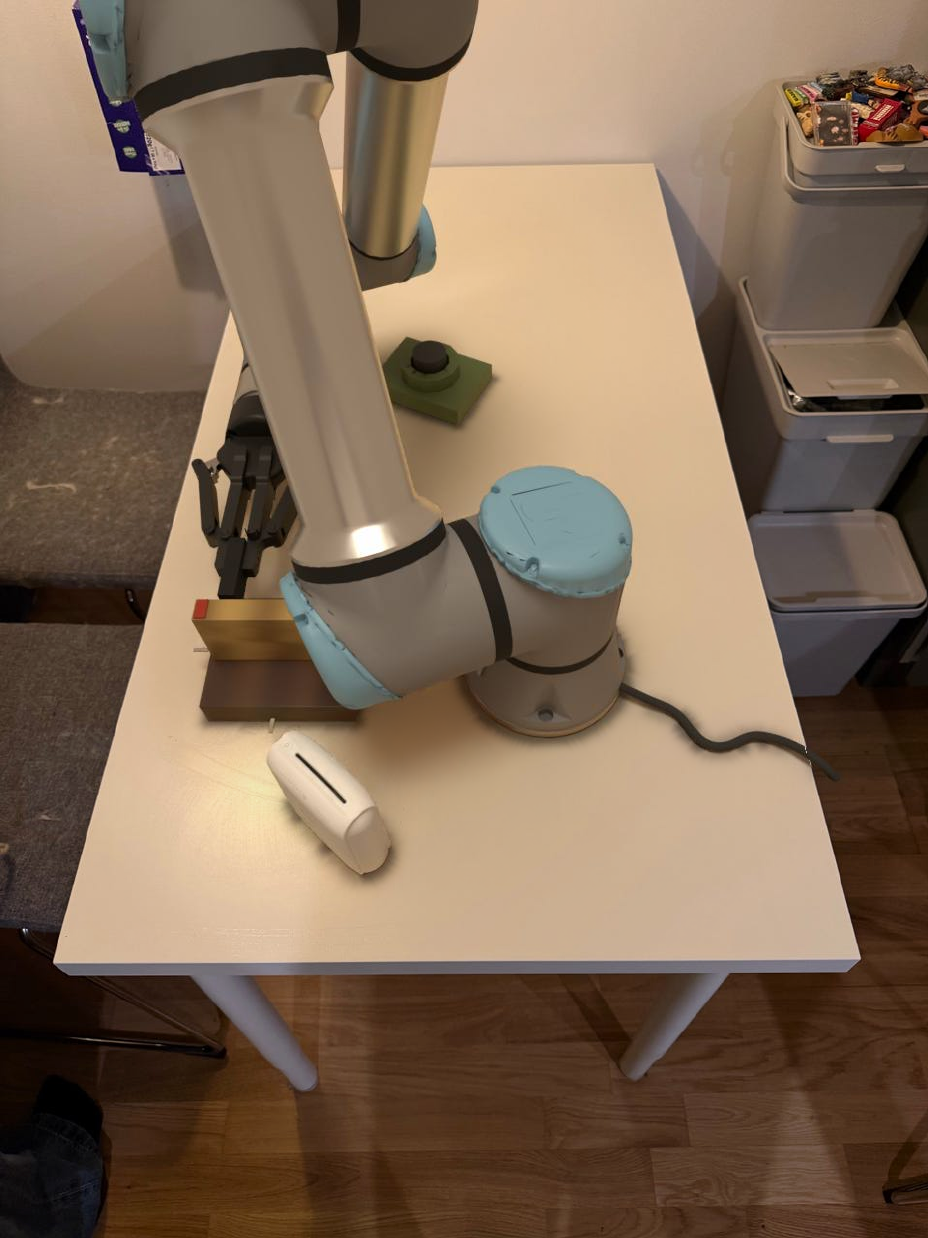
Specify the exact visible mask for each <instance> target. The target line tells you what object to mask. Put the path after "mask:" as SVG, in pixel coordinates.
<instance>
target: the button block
mask: <svg viewBox="0 0 928 1238" xmlns="http://www.w3.org/2000/svg"><path fill="white" fill-rule="evenodd" d="M436 341H437V340H436ZM420 342H423V341H421V340H419V339H416V338H413V337H410V336H405V337H404V338H403V340H402V341H401V342H400V343H399V345H398V346H396V348H395V349H394V350H393V352H392V353H391V354H390V355H389V356H388V358H387V359H386V360H385V361H384V363H383V364H381V366H382V370H383V373H384V377H385V381H386V385H387V388H388V392H389V396H390V400H391V403H394V404H397V405H399V406H402V407H405V408H408V409H411V410H414V411H417V412H420V413H422V414H424V415H428V416H431V417H434V418H436V419H439V420H441V421H445V422H447V423H451V424H454V425H456V426H460V424H461V422H462V420H463V419H464V418H465V416H466V415H467V413H468V412H469V411H470V410H471V408H472V407H473V405H474V404H475V403H476V401H477V400H478V398H479V397H480V395H481V394H482V393H483V391H484V390H485V389H486V387H487V386H488V385H489V383H490V382H491V380H492V379H493V364H492V363H489V362H485V361H483V360H480V359H477V358H474V357H472V356H471V357H470V356H467V355H466V354H465V355H464V354H461V353H458V352H457V351H456V350H455V348H453V346H451V345H450V344H447V343H444V342H441V341H437V342H440V343H441V344H443V345H444V346H445V348H446V355H447V365H446V367H445V368H444V369H443V370H442V371H440V372H438V373H436V374H424V373H421V372H418V371H417V370H416V369H415V368H414V365H413V356H412V351H413V348H414V347H415V346H416V345H417V344H418V343H420Z"/></svg>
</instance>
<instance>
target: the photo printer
mask: <svg viewBox="0 0 928 1238" xmlns="http://www.w3.org/2000/svg"><path fill="white" fill-rule="evenodd" d="M266 765H267V767H268V768H269V770H270V772H271V774H272V776H273V777H274V779H275V781H276V782H277V784H278V785H279V787H280V789H281V791H282V792H283V794H284V796H285V797H286V799H287V800H288V803H289V804H290V806H291V807H292V809H293V810H294V811H295V813H296V814H297V815H298V817H299V818H300V819H301V820H302V821H303V822H304V823H305V824H306V826H307V827H309V829H310V830H311V831H312V833H314V834H315V835H316V837H318V838H319V839H320V840H321V841H322V842H323V844H324V845H326V846H327V848H329V849H330V850H331V851H332V852H333V853H334V854H335V855H336V856H337V857H338V858H339V859H340V860H341V861H343V862H344V863H345V864H346V866H348V868H350V869H352V870H353V871H354V872H356V873H357V874H359V875H361V876H362V875H364V874H365V873H366V874H367V873H371V872H374V871H376V870H378V869H379V868H380V867H381V866H382V865H383V864H384V863H385V861H386V859H387V857H388V854H389V849H390V848H392V843H391V840H390V837H389V835H388V832H387V829H386V825H385V824H384V821H383V818H382V815H381V812H380V810H379V807H378V805H377V802H375V800H374V798H373V796H372V795H371V794H370V792H369V791H368V790H367V789H366V787H364V785H363V784H362V783H361V782H360V781H359V780H358V779H357V778H356V776H355V775H353V773H351V771H350V770H349V769H348V768H347V767H346V766H345V765H343V763H342V762H340V760H338V759H337V758H336V756H334V755H333V754H332V753H331V752H330V751H328V750H327V749H326V748H325V747H324V746H323V745H321V743H319V742H318V741H317V740H316V739H313V738H312V737H311V736H310V735H308V734H305V733H304V732H301V731H299V730H289V731H286V732H285V733H283V734H282V735H281V737H280V738H279V739H278V740H275V742H273V744H271V746H270V748H269V750H268V752H267V754H266Z"/></svg>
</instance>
